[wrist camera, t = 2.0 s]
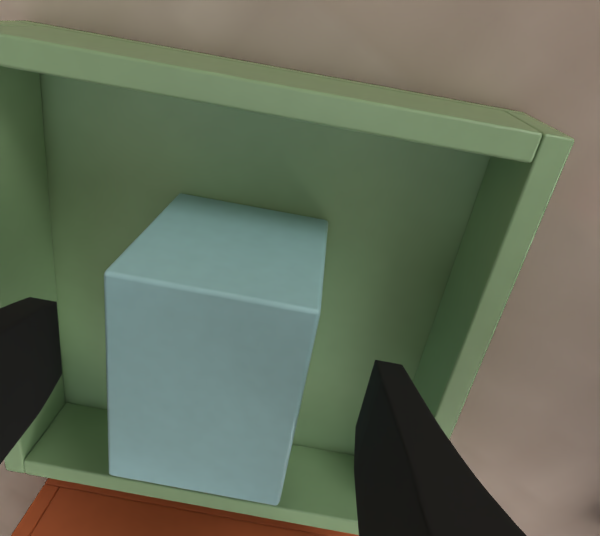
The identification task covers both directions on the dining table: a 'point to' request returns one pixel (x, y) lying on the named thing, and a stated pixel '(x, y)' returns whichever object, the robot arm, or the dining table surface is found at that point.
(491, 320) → the sage tote
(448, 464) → the robot arm
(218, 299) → the light blue box
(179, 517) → the terracotta tote
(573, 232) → the dining table surface
